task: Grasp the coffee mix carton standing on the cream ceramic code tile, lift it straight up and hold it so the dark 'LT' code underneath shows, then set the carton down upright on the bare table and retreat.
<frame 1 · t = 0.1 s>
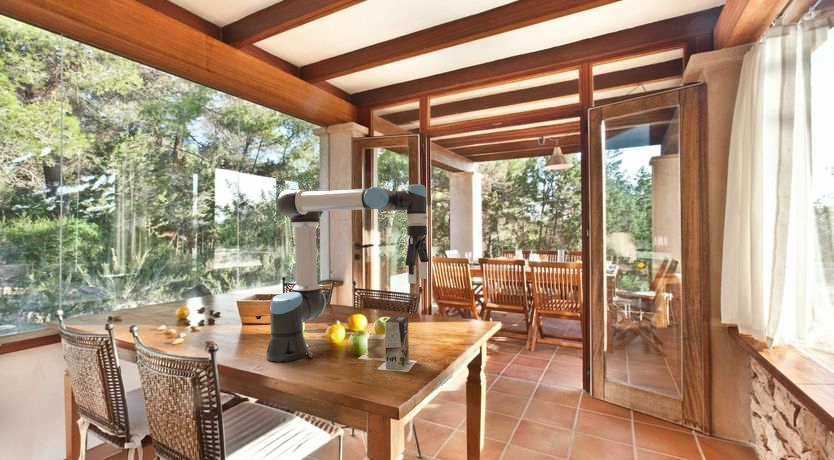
hand: (417, 280, 141), 28 cm above the table, fingers open, 13 cm apart
coffee box: (397, 365, 130), resting on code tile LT
code tile HI: (377, 355, 141), on the table
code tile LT: (397, 365, 130), on the table
oak block: (377, 354, 141), resting on code tile HI
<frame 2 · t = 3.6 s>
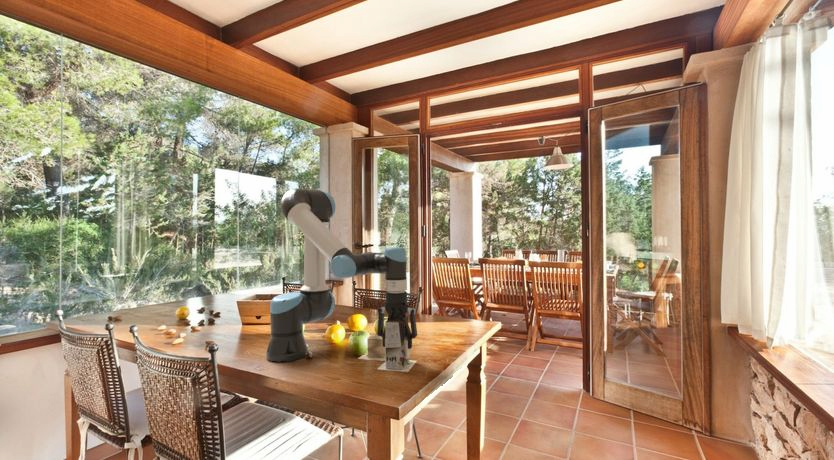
hand: (397, 356, 130), 3 cm above the table, fingers closed on coffee box, 7 cm apart
coffee box: (397, 365, 130), resting on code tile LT, touching gripper
everything else where it was.
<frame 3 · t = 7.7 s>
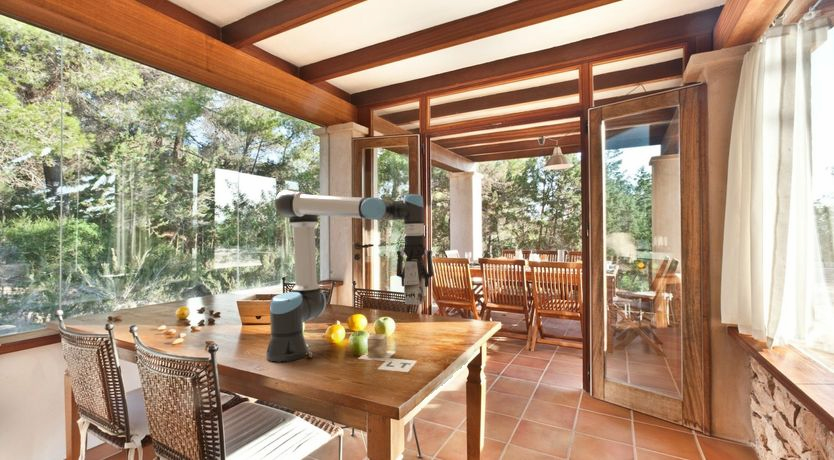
hand: (415, 295, 142), 23 cm above the table, fingers closed on coffee box, 7 cm apart
coffee box: (415, 302, 141), point 20 cm above the table, touching gripper
everything else where it was.
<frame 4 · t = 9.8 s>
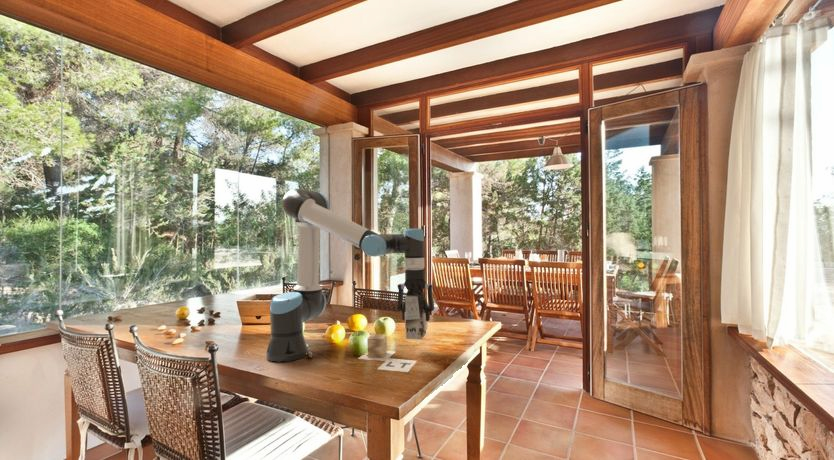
hand: (416, 328, 141), 10 cm above the table, fingers closed on coffee box, 7 cm apart
coffee box: (416, 336, 141), point 7 cm above the table, touching gripper
everything else where it was.
when the fingers open (4 cm above the table, at t = 11.7 s): coffee box drops 2 cm, on the table.
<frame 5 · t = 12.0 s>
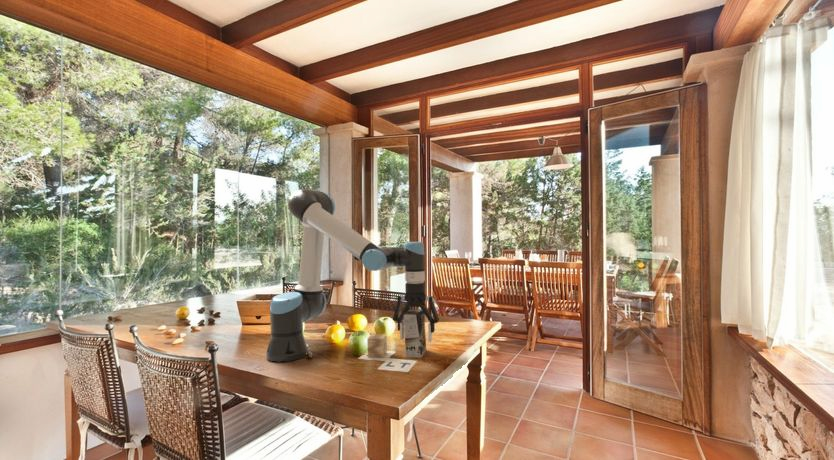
hand: (416, 339, 142), 5 cm above the table, fingers open, 10 cm apart
coffee box: (416, 354, 141), on the table
everything else where it was.
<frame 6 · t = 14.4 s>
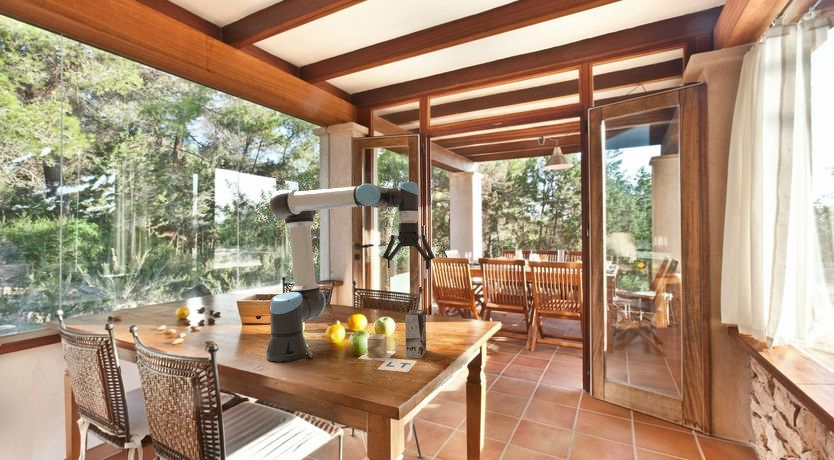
hand: (408, 277, 143), 29 cm above the table, fingers open, 13 cm apart
nothing on the table moved.
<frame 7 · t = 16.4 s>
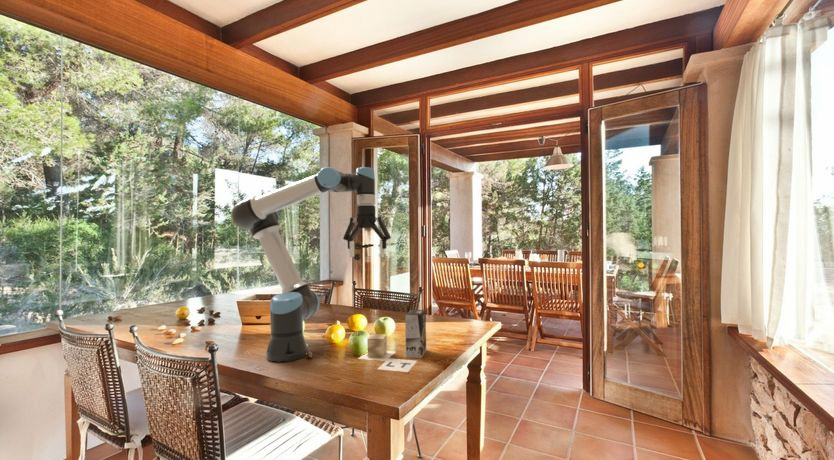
hand: (367, 257, 153), 37 cm above the table, fingers open, 13 cm apart
nothing on the table moved.
at the end: coffee box inside the target area (0.0 cm from its centre), on the table; coffee box tilted 0°; the gripper is holding nothing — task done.
